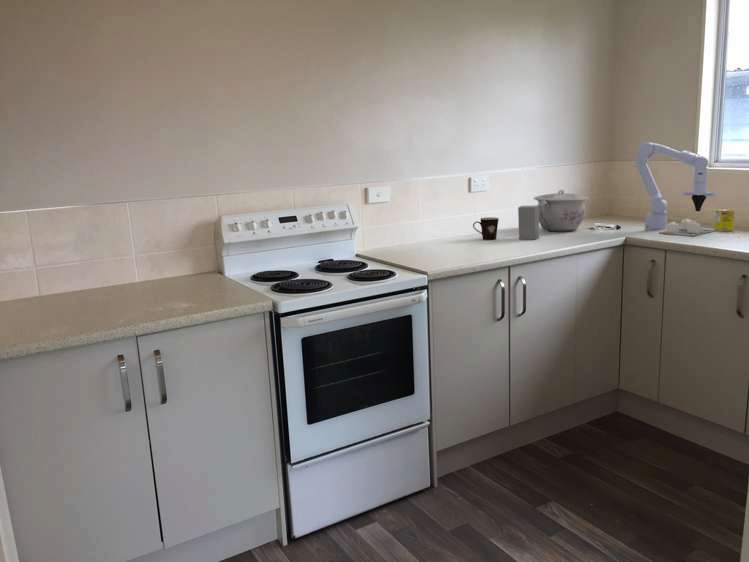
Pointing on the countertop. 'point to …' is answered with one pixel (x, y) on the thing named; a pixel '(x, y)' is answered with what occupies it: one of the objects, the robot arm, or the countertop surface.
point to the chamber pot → (561, 211)
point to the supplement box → (724, 220)
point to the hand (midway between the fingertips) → (697, 211)
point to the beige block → (693, 227)
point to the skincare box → (528, 222)
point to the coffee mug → (488, 228)
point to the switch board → (689, 232)
